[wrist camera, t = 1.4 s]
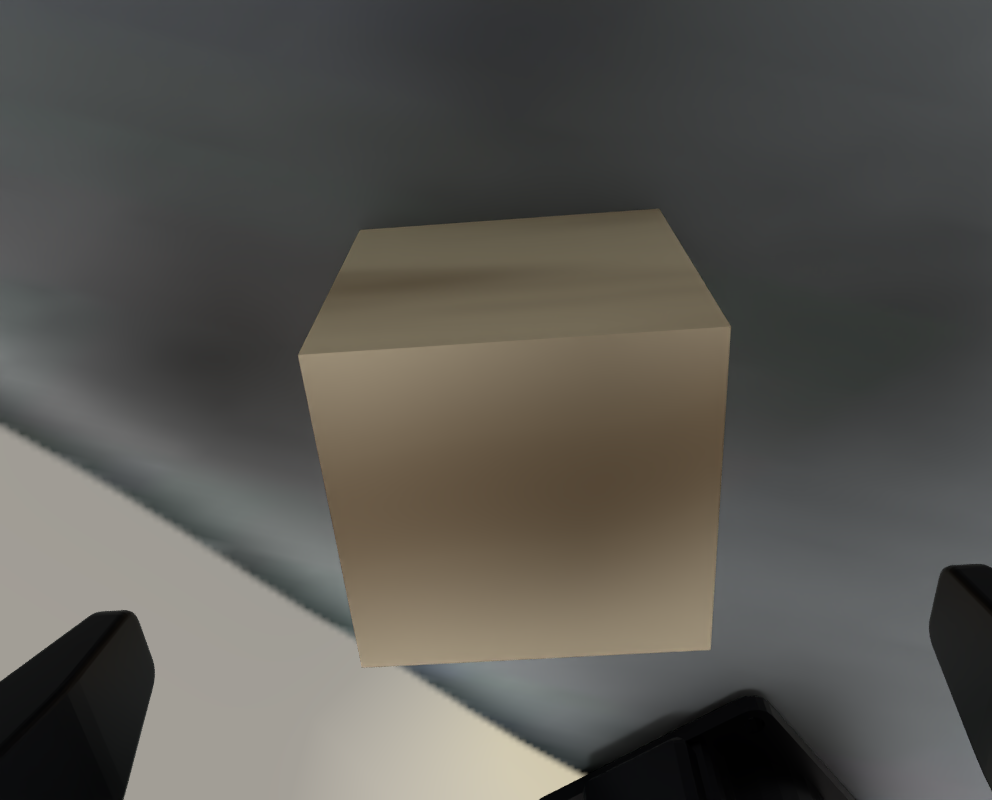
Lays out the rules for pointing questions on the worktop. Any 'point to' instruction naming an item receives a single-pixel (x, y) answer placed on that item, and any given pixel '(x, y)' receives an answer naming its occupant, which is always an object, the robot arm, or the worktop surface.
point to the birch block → (522, 438)
